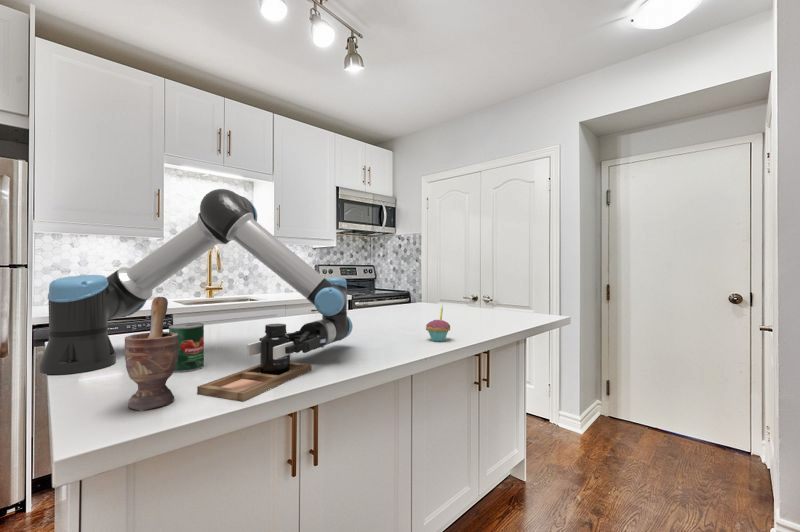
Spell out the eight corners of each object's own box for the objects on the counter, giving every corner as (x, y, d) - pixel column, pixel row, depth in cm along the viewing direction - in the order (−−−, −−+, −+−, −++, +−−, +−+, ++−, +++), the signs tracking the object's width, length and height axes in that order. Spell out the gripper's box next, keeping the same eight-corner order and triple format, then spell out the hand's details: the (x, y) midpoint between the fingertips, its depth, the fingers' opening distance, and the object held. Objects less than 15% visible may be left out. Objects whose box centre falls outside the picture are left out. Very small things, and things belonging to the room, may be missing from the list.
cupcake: (438, 336, 139) (438, 304, 139) (455, 340, 133) (455, 306, 132) (420, 340, 134) (420, 305, 134) (438, 344, 127) (438, 307, 127)
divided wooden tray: (197, 393, 79) (197, 386, 79) (272, 365, 100) (272, 359, 100) (243, 401, 74) (243, 393, 74) (311, 370, 96) (311, 364, 96)
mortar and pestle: (121, 398, 76) (120, 297, 76) (171, 388, 82) (170, 295, 82) (127, 415, 67) (126, 302, 67) (182, 404, 73) (182, 299, 73)
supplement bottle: (281, 379, 88) (281, 327, 88) (254, 377, 90) (254, 326, 89) (295, 371, 95) (295, 322, 95) (270, 369, 96) (269, 322, 96)
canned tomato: (194, 372, 94) (193, 327, 94) (161, 372, 94) (161, 327, 94) (209, 363, 102) (209, 322, 102) (180, 363, 102) (180, 322, 102)
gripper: (347, 350, 106) (297, 372, 84) (288, 344, 113) (227, 364, 91) (347, 323, 105) (297, 338, 84) (288, 319, 112) (227, 332, 91)
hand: (261, 351), depth 88 cm, fingers closed on supplement bottle, 7 cm apart
